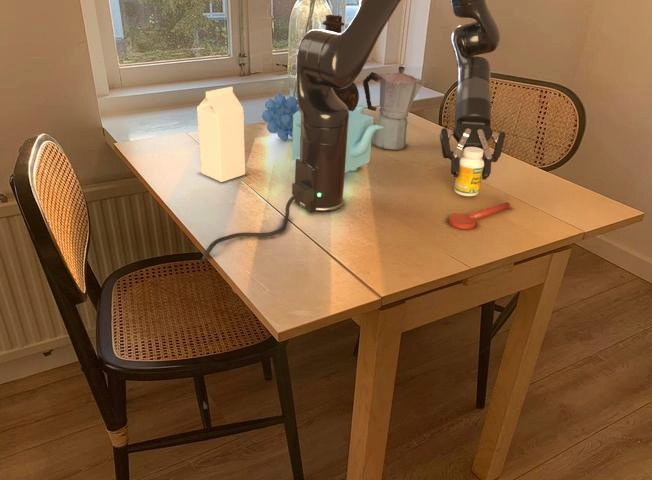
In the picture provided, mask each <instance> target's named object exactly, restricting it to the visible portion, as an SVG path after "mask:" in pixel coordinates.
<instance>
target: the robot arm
mask: <svg viewBox="0 0 652 480" xmlns="http://www.w3.org/2000/svg"><path fill="white" fill-rule="evenodd" d="M449 1H450V6H451V9H452V13H453V15H454V16H455V17H457V18H461V19H473V20H474V21H472V22H469V23H463V24H460V25H458V26H456V27H455V28H454V30H453V31H452V32H451V36H450V43H451V49H452V52H453V54H454V58H455V61H456V67H457V84H456V85H457V87H456V93H455V101H454V106H455V107H454V127H453V128H452V129H447V128H445V127H444V128H441V131H440V133H439V141H440V146H441V153H442V158H443V159H447V160H450V161H451V162H450V165H451V166H450V174H451V175H452V176H453V178H455V179H456V178H457V177H458V175H459V165H460V158H461V157H459V156H460V155H461V153H462V151H463V150H464V149H465V148H466V147H478V148H481V149H483V151H484V152H483V157H482V158H481V159H482V160H483V161H484V169H483V174H482V178H481V181H482V180H484V181H486V180H487V179H488V178H489V177H490V175H491V173H492V163H497V162H498V160H499V159H500V157H501V155H502V151H503V147H504V143H505V138H506V133H505V132H503V131H502V132H500V133H498V132H494V131H493V129H492V127H491V118H492V117H491V116H492V90H491V75H492V74H491V73H492V71H491V69H492V67H491V63H490V61H489V60H488V59H487V58H485V57H483V56H480V55H483V54H484V55H485V54H489V53H492V52H494V51H496V50H497V49H498V47H499V45H500V42H501V30H500V27H499V25H498V23H497V21H496V19H495V17H494V16H493V14H492V12H491V9H490V8H489V5H488V2H487V0H449ZM401 2H402V0H359V7H358V9H357V11H356V13H355V14H354V15H355V16H354V17H353V19H352V20H351V22H350V23H349V25H348V26H347V27H346V28H345V30H344V31H343V32H341V33H336V32H331V31H326V30H325V29H318V28H316V29H311V30H309V31H307V32H306V33H305V34H304V35H303V37H302V38H301V40H300V42H299V45H298V48H297V53H296V61H295V63H296V64H295V66H296V67H295V69H296V71H295V72H296V73H295V74H296V75H295V76H296V100H297V103H298V104H297V106H298V107H299V109H300V112H301V132H300V158H297V159H296V161H295V160H294V161H295V163H294V164H295V165H294V166H295V167H294V182H292V183H291V192H292V193H291V195H292V196H291V197H290V198H289V199H288V201H287V202H286V205H285V213H284V218H283V223H282V226H281V227H280V228H278V229H276V230H273V231H269V232H237V233H232V234H228V235H225V236H221V237H219V238H216V239H215V240H213V241H212V242H211V243H210V244H209V246H207V248H206V249H205V251H204V253H203V255H202V257H201V260H206V259H207V258H208V256H209V255H210V253H211V252H212V250H213V249H214V248H215V246H217V245H218V244H220V243H222V242H225V241H228V240H232V239H235V238H241V237H242V238H243V237H245V238H246V237H253V238H254V237H256V238H263V237H264V238H265V237H266V238H267V237H272V236H275V235H277V234H280V233H282V232H284V231H286V228H287V224H288V221H289V218H290V208H291V205H292V204H293V202H294V203H295V204H296V205H298V206H299V207H301V208H302V209H305V210H306V211H307V212H309V213H311V214H312V213H331V212H335V211H338V210H339V209H341V208H342V207H343V206H344V190H345V176H346V175H345V174H346V173H345V163H346V149H347V135H348V121H349V109H348V107H347V106H346V105H345V104H344V103H343V102H342V101H341V100H340V99H339V98H338V97H337V95H336V94H335V92H334V90H333V88H336V89H344V88H346V87H348V86H350V85H351V84H352V83H353V82H354V83H355V81H356V80H357V79H358V77H359V76H360V74H361V72H362V70H363V69H364V67H365V65H366V63H367V61H368V60H369V57H370V55H371V53H372V52H373V49H374V48H375V45H377V42H378V39H379V38H380V36H381V34H382V32H383V30H384V29H385V27H386V25H387V24H388V22H389V20H390V19H391V18H392V16H393V14H394V12H395V10H396V9H397V8H398V6H399V4H400V3H401ZM452 137H453V138H454V140H455V141H456V142H457V146H456V147H455V150H454V151H453V150H451V144H450V140H451V138H452ZM490 139H492V143H493V144H494V149H493V153H492V152H491V151H490V145H489V143H488V141H489V140H490ZM202 404H203V406H202V407H203V409H204V410H207V409H208V405H207V404H206V402H205V401H204V400H202Z"/></svg>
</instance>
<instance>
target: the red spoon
mask: <svg viewBox="0 0 652 480" xmlns="http://www.w3.org/2000/svg"><path fill="white" fill-rule="evenodd" d="M510 207H511V203H510V202H509V201H505V202H502V203H499V204H496V205H493V206H489V207H487V208H483V209H481V210H478V211H475V212H472V213H469V214H467V213H453V214H451V215H449V218H448V223H449V224H450V226H452V227H454V228H456V229H461V230H469V229H473V228H475V227H476V224H477V220H478V219H481V218H484V217H487V216H490V215H492V214H495V213H499V212H502V211H506V210H508V209H510Z"/></svg>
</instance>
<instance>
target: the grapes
mask: <svg viewBox="0 0 652 480" xmlns="http://www.w3.org/2000/svg"><path fill="white" fill-rule="evenodd" d="M264 107H265V108H266V110H264V111H263V112H262V114H261V118H262V119H263V121H264V122H266V123H267V125H266V128H267V131H268V132H269V133H270V134H276V135H277V137H278V138H279V139H280V140H287V139H288V138H289V137H290V138H292V139H293V114H295V113H296V112H297V111H300V109H299V107H298V102H297V98H296V97H295V96H291V95H290V96H288V97H286V96H285V95H284V94H283V93H277V94H275V95H274V99H271V98H268V99H267V100H265V103H264Z"/></svg>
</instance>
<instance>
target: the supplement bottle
mask: <svg viewBox="0 0 652 480" xmlns="http://www.w3.org/2000/svg"><path fill="white" fill-rule="evenodd" d="M483 152H484V151H483V149H481V148H478V147H466V148H465V149H463V152H462V153H463V156H462V157H459V158H460V165H459V175H458V177H457V178H455V181H454V188H453V190H454V192H455V193H456V194H457V195H459V196H463V197H474V196H475V197H476V196H477V195H478V194H479V192H480V188H481V183H482V174H483V169H484V161H483V160H482V157H483Z"/></svg>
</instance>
